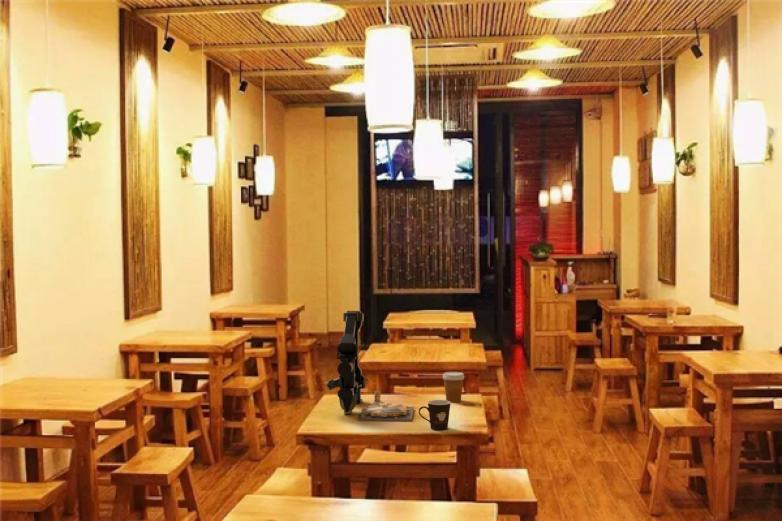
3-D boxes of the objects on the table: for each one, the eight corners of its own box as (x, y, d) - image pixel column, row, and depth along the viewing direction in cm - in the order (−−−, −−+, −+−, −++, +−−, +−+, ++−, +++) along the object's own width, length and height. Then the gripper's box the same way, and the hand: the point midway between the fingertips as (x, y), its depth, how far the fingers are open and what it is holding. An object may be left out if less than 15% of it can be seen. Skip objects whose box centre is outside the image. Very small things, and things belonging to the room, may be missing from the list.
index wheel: (352, 411, 346) (351, 395, 346) (385, 404, 359) (385, 389, 359) (385, 420, 331) (385, 403, 331) (419, 412, 344) (419, 396, 344)
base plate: (363, 408, 356) (363, 405, 356) (414, 409, 354) (413, 406, 354) (358, 420, 335) (358, 417, 335) (411, 421, 333) (411, 418, 333)
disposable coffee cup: (446, 403, 364) (446, 376, 363) (439, 399, 373) (439, 372, 372) (467, 402, 366) (467, 375, 365) (460, 398, 375) (460, 371, 375)
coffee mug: (452, 426, 325) (452, 400, 325) (448, 431, 317) (448, 405, 316) (422, 424, 328) (422, 399, 327) (418, 430, 319) (417, 404, 319)
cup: (354, 416, 342) (354, 396, 342) (336, 415, 344) (336, 396, 343) (359, 412, 350) (358, 392, 349) (341, 411, 351) (341, 392, 351)
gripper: (331, 367, 356) (331, 404, 357) (324, 376, 337) (325, 414, 338) (357, 367, 355) (358, 404, 356) (352, 376, 336) (352, 415, 337)
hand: (348, 409), depth 347 cm, fingers open, 8 cm apart
